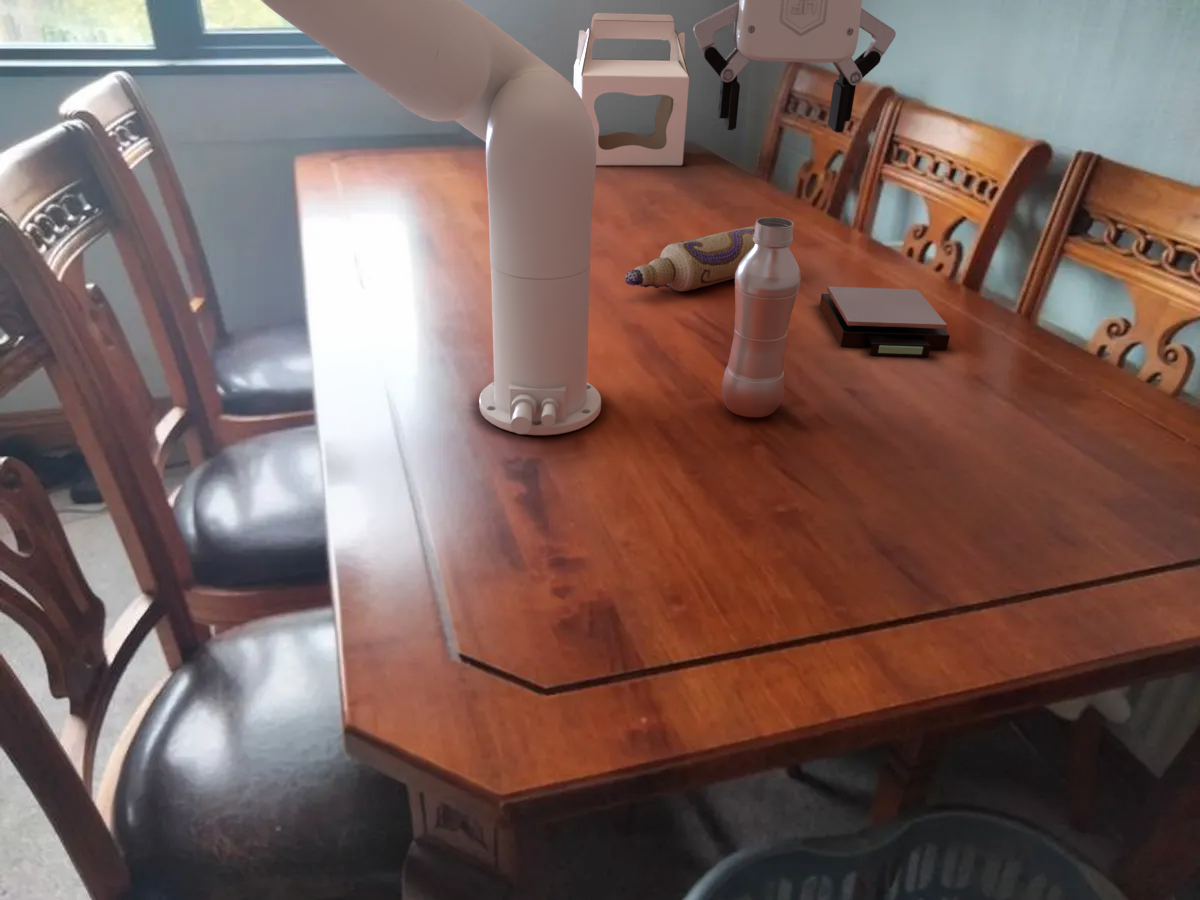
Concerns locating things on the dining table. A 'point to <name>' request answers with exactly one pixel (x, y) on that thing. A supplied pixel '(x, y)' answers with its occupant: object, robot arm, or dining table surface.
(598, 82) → the gable box
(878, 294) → the scale
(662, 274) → the decorative bottle
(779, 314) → the plastic bottle
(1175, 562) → the dining table surface
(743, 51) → the robot arm
